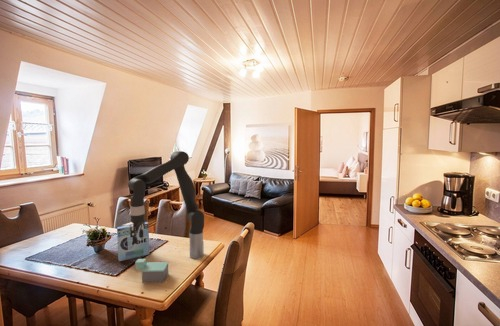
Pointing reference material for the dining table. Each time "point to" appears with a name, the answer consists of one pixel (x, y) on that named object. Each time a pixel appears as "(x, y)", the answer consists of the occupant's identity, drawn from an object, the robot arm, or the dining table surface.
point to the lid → (150, 266)
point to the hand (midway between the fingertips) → (138, 240)
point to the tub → (154, 276)
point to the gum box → (126, 243)
